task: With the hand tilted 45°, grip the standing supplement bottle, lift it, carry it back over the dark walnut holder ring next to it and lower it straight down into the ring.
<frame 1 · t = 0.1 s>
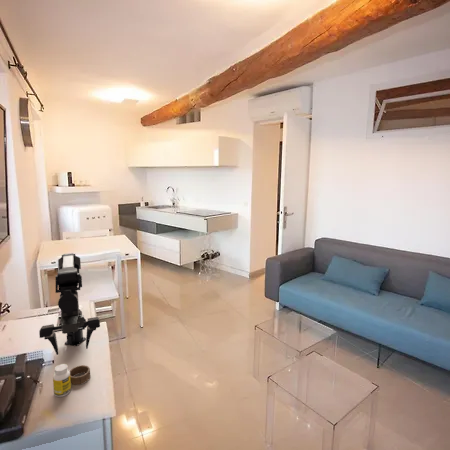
hand: (72, 351, 110), 15 cm above the table, tool pointing down, fingers open, 9 cm apart
supplement bottle: (62, 392, 112), on the table
holder: (79, 378, 119), on the table
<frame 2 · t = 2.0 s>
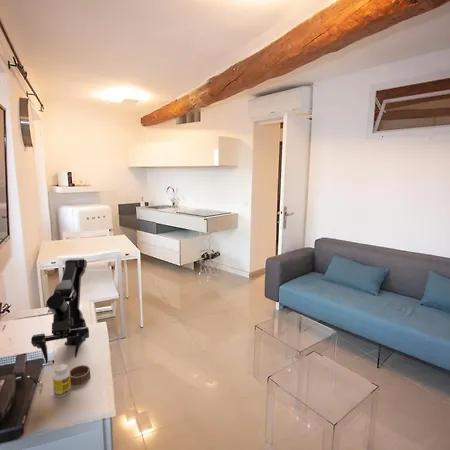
hand: (61, 360, 113), 10 cm above the table, tool tilted 45°, fingers open, 9 cm apart
nothing on the table moved.
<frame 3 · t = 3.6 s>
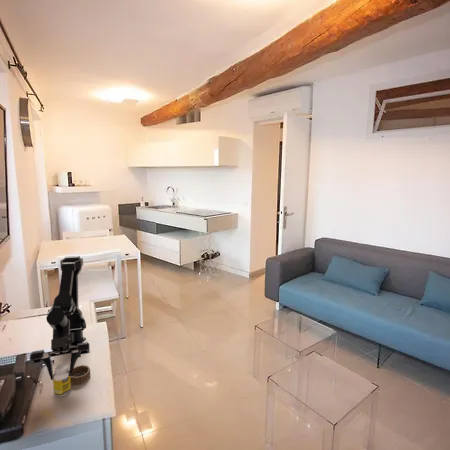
hand: (61, 377, 109), 7 cm above the table, tool tilted 45°, fingers closed on supplement bottle, 5 cm apart
supplement bottle: (62, 392, 112), on the table, touching gripper
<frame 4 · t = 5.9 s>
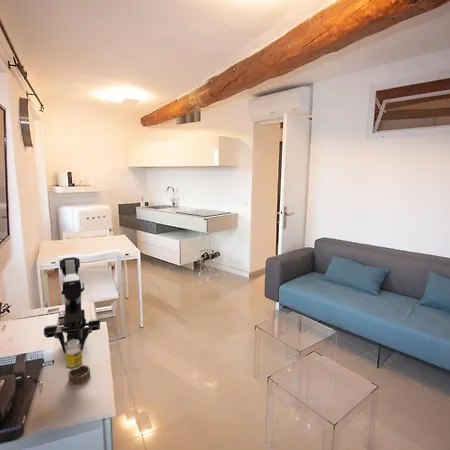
hand: (73, 351, 114), 13 cm above the table, tool tilted 45°, fingers closed on supplement bottle, 5 cm apart
supplement bottle: (74, 366, 117), point 6 cm above the table, touching gripper
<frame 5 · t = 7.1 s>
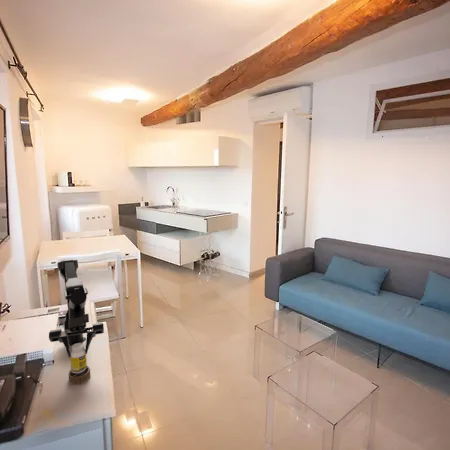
hand: (77, 355, 116), 10 cm above the table, tool tilted 45°, fingers closed on supplement bottle, 5 cm apart
supplement bottle: (79, 369, 119), point 4 cm above the table, touching gripper
when the fingers open (8 cm above the table, at t = 8.1 s): supplement bottle drops 1 cm, resting in holder.
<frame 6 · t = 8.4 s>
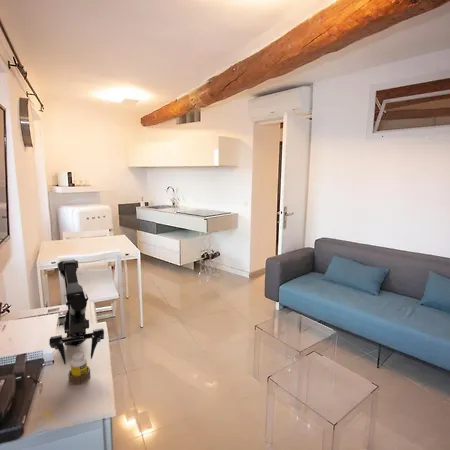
hand: (78, 361, 116), 8 cm above the table, tool tilted 45°, fingers open, 9 cm apart
supplement bottle: (79, 378, 119), resting in holder
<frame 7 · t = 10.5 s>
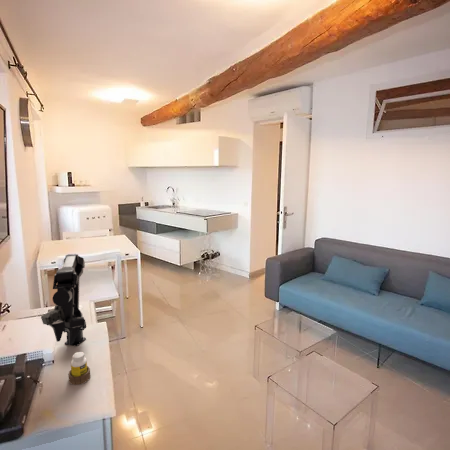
hand: (64, 343, 123), 11 cm above the table, tool tilted 15°, fingers open, 9 cm apart
nothing on the table moved.
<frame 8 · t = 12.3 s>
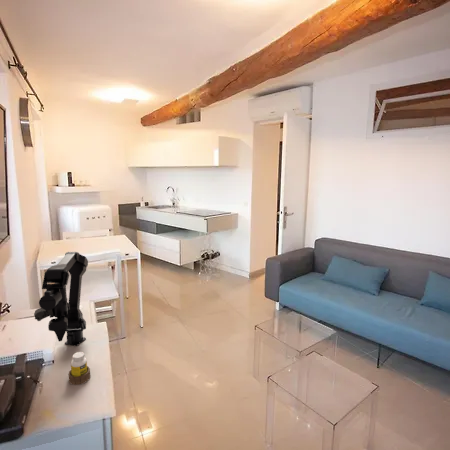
hand: (61, 335, 126), 12 cm above the table, tool pointing down, fingers open, 9 cm apart
nothing on the table moved.
at the end: supplement bottle 0.2 cm off-centre on the holder, point 0.0 cm above the holder's base; supplement bottle tilted 0°; the gripper is holding nothing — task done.
